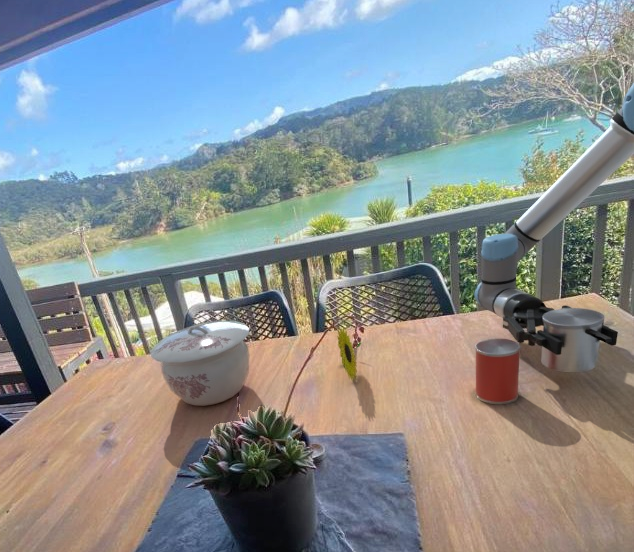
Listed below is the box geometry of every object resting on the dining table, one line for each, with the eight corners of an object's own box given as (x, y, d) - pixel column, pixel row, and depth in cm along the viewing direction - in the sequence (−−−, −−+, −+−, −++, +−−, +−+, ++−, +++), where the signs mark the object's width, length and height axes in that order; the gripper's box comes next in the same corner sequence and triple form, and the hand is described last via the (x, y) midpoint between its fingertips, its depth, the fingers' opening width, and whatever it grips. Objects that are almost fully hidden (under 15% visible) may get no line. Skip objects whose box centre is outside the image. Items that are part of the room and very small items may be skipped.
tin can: (505, 383, 95) (506, 335, 91) (526, 400, 88) (528, 349, 84) (469, 389, 96) (468, 342, 92) (486, 407, 89) (486, 357, 85)
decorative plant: (343, 322, 132) (315, 332, 106) (362, 317, 129) (338, 326, 103) (355, 369, 133) (330, 390, 106) (374, 365, 130) (354, 386, 104)
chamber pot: (265, 407, 110) (248, 331, 102) (160, 428, 112) (136, 355, 104) (257, 363, 135) (244, 300, 127) (172, 381, 137) (154, 320, 130)
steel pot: (577, 349, 93) (581, 304, 89) (631, 378, 79) (639, 328, 76) (529, 357, 94) (532, 313, 90) (575, 387, 81) (580, 338, 77)
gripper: (567, 314, 103) (646, 351, 82) (471, 331, 106) (525, 371, 85) (570, 284, 100) (653, 314, 80) (471, 302, 103) (527, 336, 82)
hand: (586, 343), depth 82 cm, fingers closed on steel pot, 9 cm apart
